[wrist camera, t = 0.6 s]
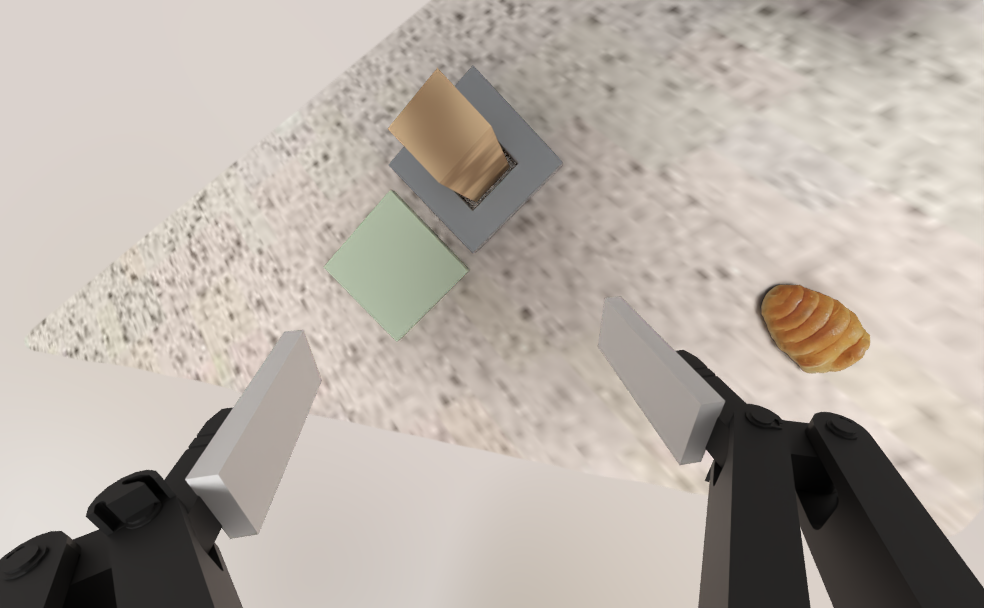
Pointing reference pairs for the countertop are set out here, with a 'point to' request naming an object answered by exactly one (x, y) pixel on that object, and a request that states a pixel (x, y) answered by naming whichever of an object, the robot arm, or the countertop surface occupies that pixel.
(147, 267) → the countertop surface
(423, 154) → the oak peg
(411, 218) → the rubber pad
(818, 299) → the pastry
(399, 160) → the pocket frame
